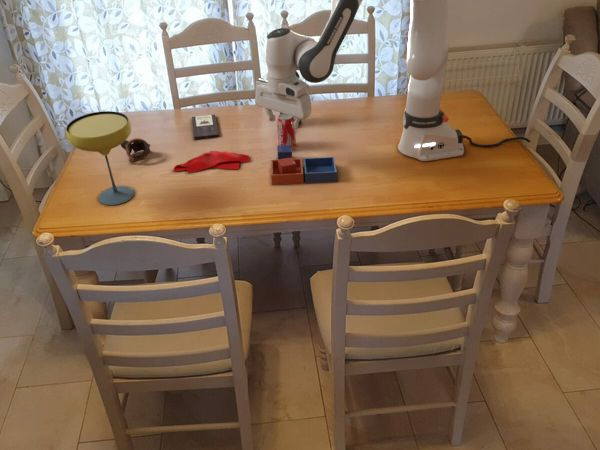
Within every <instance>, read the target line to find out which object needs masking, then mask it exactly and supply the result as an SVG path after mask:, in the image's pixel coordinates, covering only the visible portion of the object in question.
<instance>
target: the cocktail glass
mask: <svg viewBox="0 0 600 450" xmlns="http://www.w3.org/2000/svg"><path fill="white" fill-rule="evenodd" d="M131 132H132V125H131V121H130V118H129V117H128V116H127V115H126V114H125V113H122V112H118V111H110V110H108V111H107V110H106V111H105V110H104V111H95V112H90V113H87V114H84V115H81V116H78V117H77V118H76V117H75V118H73V120H71V121H70V122H69V123H68V124H67V125H66V127H65V134H66V137H67V138H66V139H67V141H68V142H69V144H71V146H73V147H75V149H79V150H82V151H84V152H92V153H93V152H94V153H99V154H100V155H102V156H104V158H105V161H106V165H107V169H108V174H109V176H110V181H111V186H112V187H109V188H107V189H106V190H104V191H101V193H100V194H99V196H98V201H99V202H100V203H101V204H102V205H105V206H118V205H123V204H126V203H127V202H129V201H130V200H132V198H134V195H135V192H134V190H133V188H131V187H128V186H125V185H124V186H121V185H119V186H116V183H115V180H114V177H113V173H112V168H111V165H110V162H109V158H108V155H109V154H110V153H111V150H112V149H114V148H116V147H118V146H121V145H120V144H122V143H123V142H124V141H125V140H128V138H129V137H130V135H131Z"/></svg>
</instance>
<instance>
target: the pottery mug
mask: <svg viewBox="0 0 600 450" xmlns="http://www.w3.org/2000/svg"><path fill="white" fill-rule="evenodd" d="M119 146H120V147H121V148H122V149H123V150H124V151H125V153H126V156H127V157H128V162H129V163H131V164H132V165H134V164H135V163H137V162H140V161H143V160H145V159H146V158H147V157H148V156H149V155H150V154H152V151H151V144H150V143H149V142H147V141H146V140H145V139H142V138H132V139H130V140H128V139H126V140H125V141H124V142H123V143H122V144H120V145H119ZM140 151H141V152H140ZM132 152H133V153H132ZM138 152H140V153H138Z"/></svg>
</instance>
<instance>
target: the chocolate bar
mask: <svg viewBox="0 0 600 450" xmlns="http://www.w3.org/2000/svg"><path fill="white" fill-rule="evenodd" d="M191 120H192V129H193V140H201V139H211V138H219V130H218V126H217V125H218V124H217V120H216V114H207V115H196V116H191Z"/></svg>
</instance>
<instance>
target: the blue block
mask: <svg viewBox="0 0 600 450" xmlns="http://www.w3.org/2000/svg"><path fill="white" fill-rule="evenodd" d="M276 149H277V150H276V151H277V160H279V159H285V158H290V157H292V158H293V148H292V147H291V145H283V146H278V145H277V148H276Z"/></svg>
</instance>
